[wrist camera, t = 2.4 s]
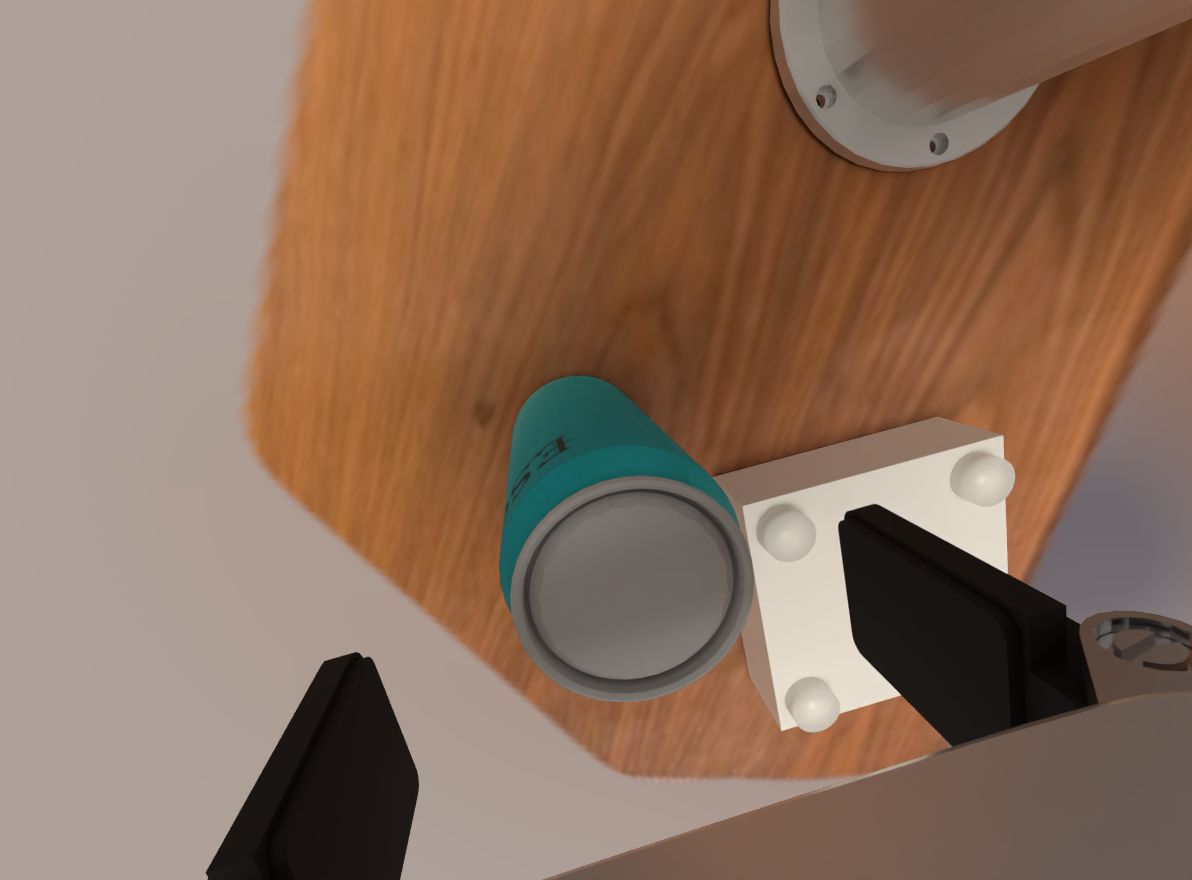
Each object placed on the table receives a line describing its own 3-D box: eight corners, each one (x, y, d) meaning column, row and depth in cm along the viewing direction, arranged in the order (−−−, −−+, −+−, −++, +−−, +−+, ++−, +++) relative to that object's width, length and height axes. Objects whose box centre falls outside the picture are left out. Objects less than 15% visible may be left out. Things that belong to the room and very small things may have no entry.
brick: (712, 477, 27) (751, 515, 22) (937, 416, 28) (1022, 440, 23) (749, 676, 30) (790, 747, 26) (950, 617, 31) (1028, 675, 26)
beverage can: (491, 456, 26) (446, 658, 11) (549, 347, 25) (582, 413, 10) (598, 508, 27) (681, 749, 12) (657, 406, 26) (820, 539, 12)
